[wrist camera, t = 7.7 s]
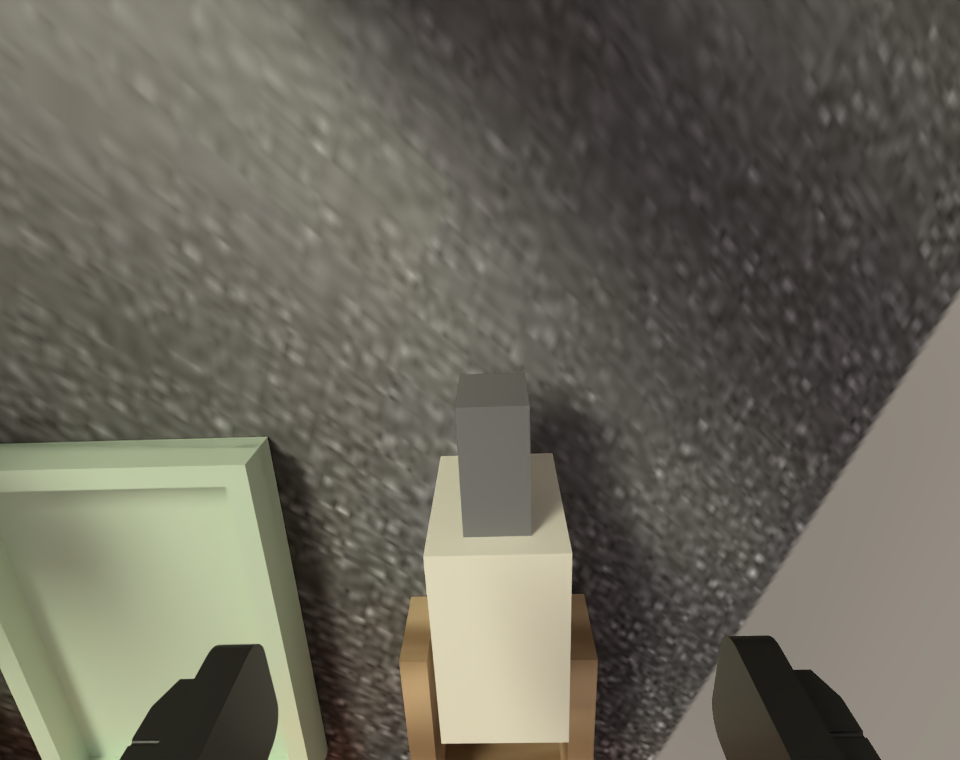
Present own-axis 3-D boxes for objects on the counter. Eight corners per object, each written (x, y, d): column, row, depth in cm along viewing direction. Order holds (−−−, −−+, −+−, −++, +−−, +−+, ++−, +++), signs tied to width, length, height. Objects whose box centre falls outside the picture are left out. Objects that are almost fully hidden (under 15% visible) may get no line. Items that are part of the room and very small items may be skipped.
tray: (-37, 444, 26) (-90, 473, 24) (267, 436, 25) (244, 464, 23) (89, 751, 33) (58, 796, 31) (327, 749, 33) (315, 794, 30)
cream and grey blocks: (432, 350, 24) (410, 422, 17) (552, 346, 24) (574, 417, 17) (453, 612, 29) (441, 743, 22) (551, 610, 29) (568, 742, 22)
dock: (411, 596, 29) (399, 662, 25) (583, 593, 28) (598, 659, 25) (427, 749, 33) (418, 826, 29) (578, 748, 32) (590, 826, 28)
